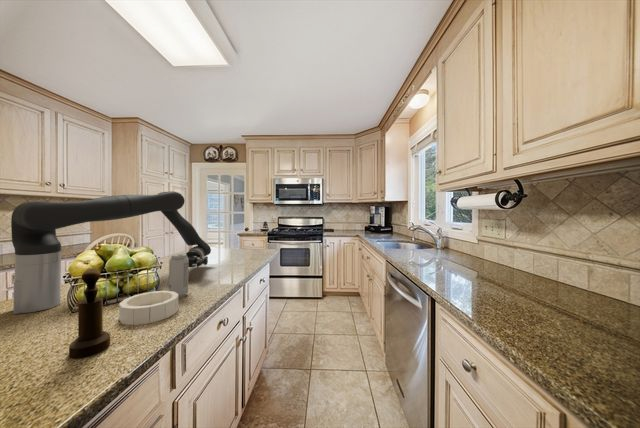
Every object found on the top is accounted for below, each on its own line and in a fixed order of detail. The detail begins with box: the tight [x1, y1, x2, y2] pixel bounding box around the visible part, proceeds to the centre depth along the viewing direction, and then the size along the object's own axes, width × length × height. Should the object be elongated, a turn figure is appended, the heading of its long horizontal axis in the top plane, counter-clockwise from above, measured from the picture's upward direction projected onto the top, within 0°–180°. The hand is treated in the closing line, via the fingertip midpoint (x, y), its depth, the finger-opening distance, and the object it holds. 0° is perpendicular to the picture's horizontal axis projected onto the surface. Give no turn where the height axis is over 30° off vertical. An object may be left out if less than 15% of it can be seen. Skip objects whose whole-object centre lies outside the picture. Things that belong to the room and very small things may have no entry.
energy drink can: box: [168, 253, 190, 299], centre depth 85 cm, size 6×6×15 cm
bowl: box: [118, 290, 179, 326], centre depth 70 cm, size 14×14×4 cm
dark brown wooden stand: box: [68, 268, 111, 360], centre depth 52 cm, size 7×6×18 cm
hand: (186, 265), depth 96 cm, fingers open, 8 cm apart
